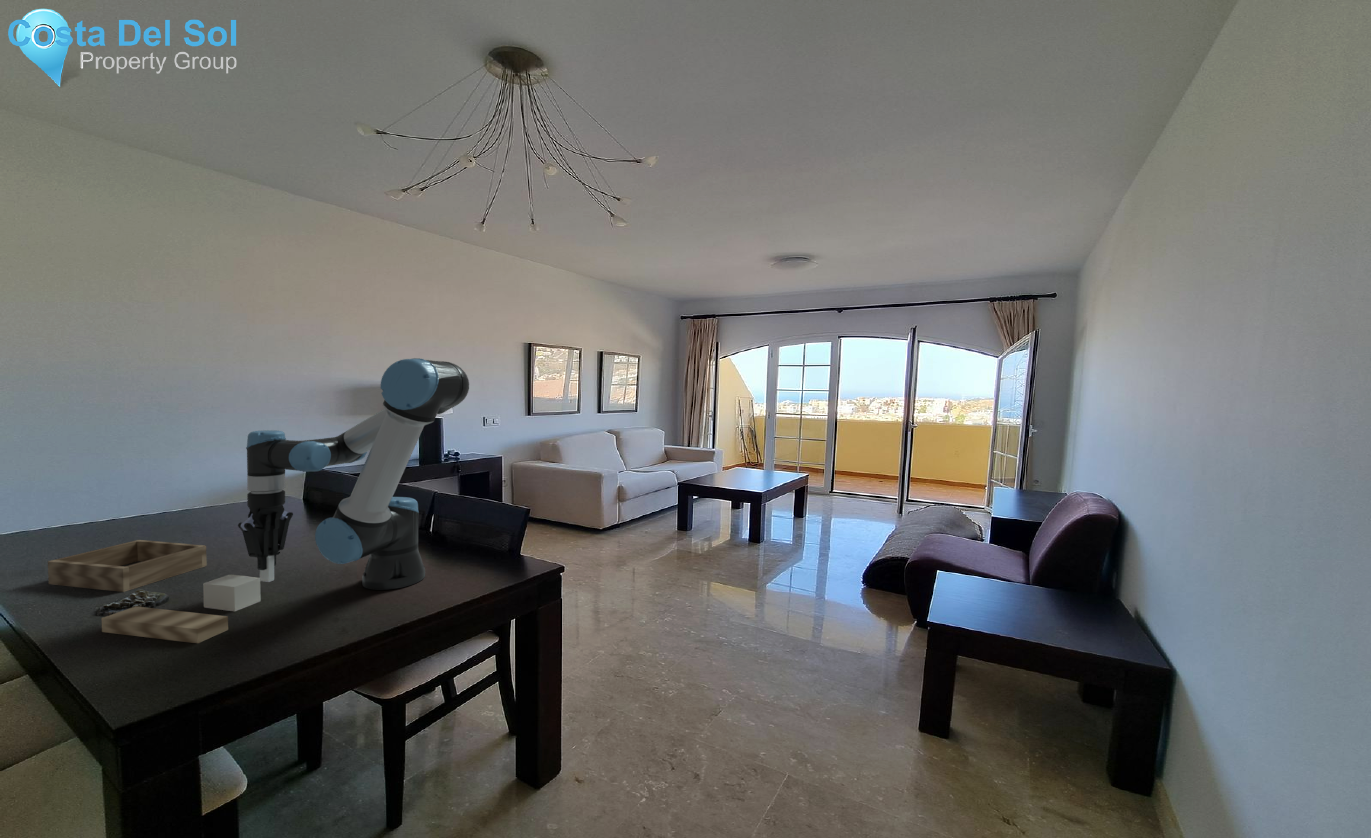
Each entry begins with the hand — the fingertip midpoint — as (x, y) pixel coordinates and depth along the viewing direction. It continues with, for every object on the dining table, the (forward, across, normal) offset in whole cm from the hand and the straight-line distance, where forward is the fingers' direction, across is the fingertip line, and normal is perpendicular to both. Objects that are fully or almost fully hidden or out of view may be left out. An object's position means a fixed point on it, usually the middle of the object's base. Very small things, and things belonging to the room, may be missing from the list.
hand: (267, 580), depth 132 cm
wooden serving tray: (+3, -1, -44) cm, 44 cm away
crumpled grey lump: (+3, +14, -20) cm, 25 cm away
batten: (+2, +23, 0) cm, 23 cm away
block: (+3, +9, 0) cm, 9 cm away
